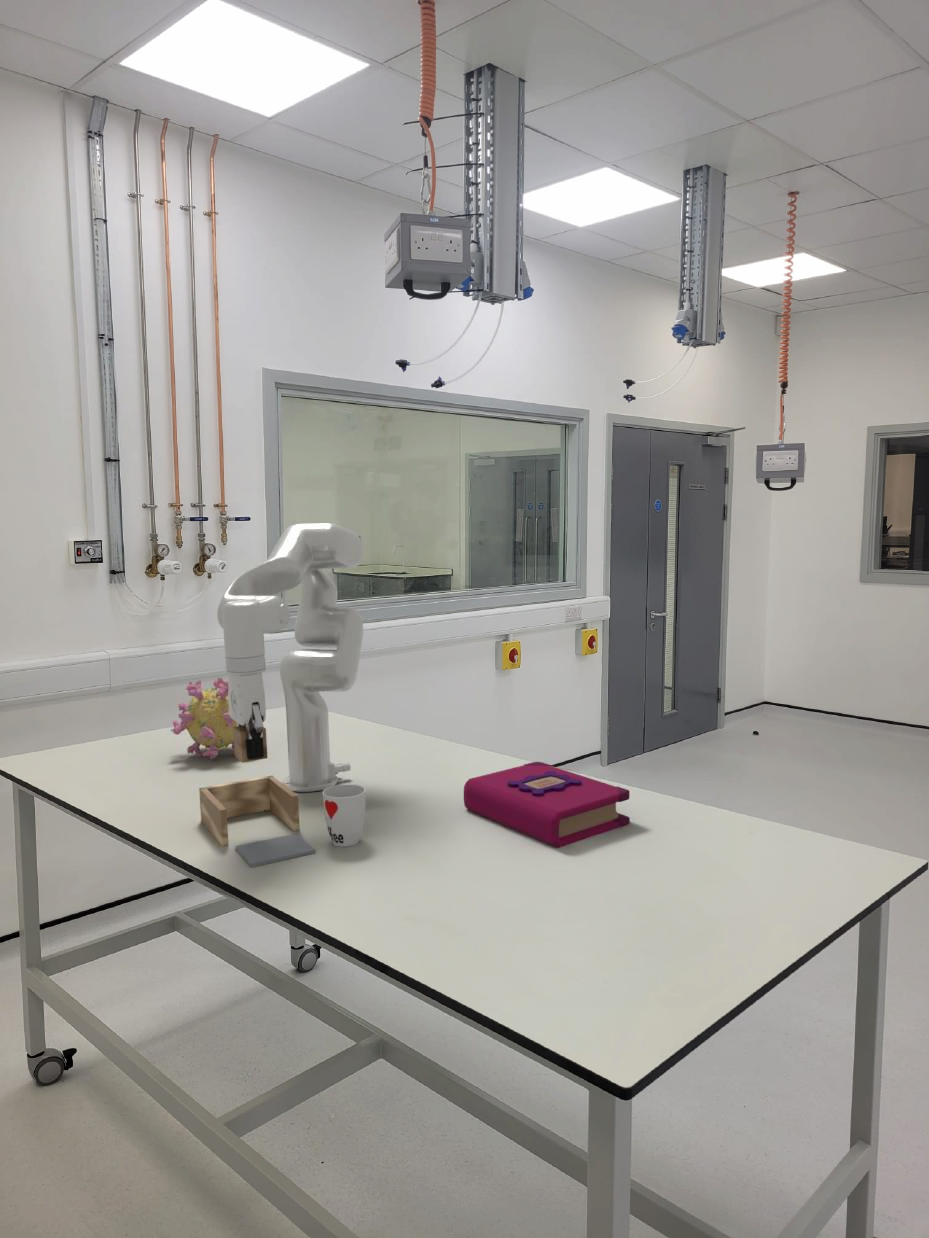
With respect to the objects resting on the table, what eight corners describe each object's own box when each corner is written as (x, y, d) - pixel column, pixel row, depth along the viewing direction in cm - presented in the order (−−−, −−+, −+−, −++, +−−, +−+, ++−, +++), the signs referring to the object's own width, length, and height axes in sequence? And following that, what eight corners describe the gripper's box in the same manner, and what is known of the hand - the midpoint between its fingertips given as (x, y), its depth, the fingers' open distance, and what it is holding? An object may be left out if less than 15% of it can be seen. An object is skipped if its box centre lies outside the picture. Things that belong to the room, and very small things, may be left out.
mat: (296, 836, 170) (296, 833, 170) (315, 852, 161) (314, 849, 161) (235, 849, 164) (235, 846, 163) (251, 867, 155) (251, 863, 155)
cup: (319, 838, 168) (317, 788, 167) (359, 831, 172) (357, 781, 170) (331, 852, 161) (329, 800, 160) (373, 844, 164) (371, 793, 163)
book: (554, 851, 160) (554, 811, 159) (463, 812, 182) (462, 776, 182) (632, 825, 173) (632, 788, 172) (538, 791, 195) (538, 758, 194)
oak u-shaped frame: (273, 806, 187) (272, 775, 186) (299, 829, 173) (298, 795, 172) (201, 821, 179) (199, 788, 178) (222, 845, 165) (220, 810, 164)
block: (259, 752, 175) (258, 723, 175) (267, 758, 171) (265, 728, 170) (235, 756, 173) (233, 726, 172) (242, 762, 169) (240, 732, 168)
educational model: (155, 763, 222) (150, 687, 220) (205, 741, 243) (201, 671, 241) (235, 769, 215) (231, 691, 213) (279, 746, 237) (276, 674, 234)
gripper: (214, 660, 175) (220, 747, 177) (238, 673, 160) (245, 768, 163) (251, 655, 179) (256, 741, 181) (278, 668, 164) (283, 761, 167)
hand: (251, 753), depth 172 cm, fingers closed on block, 5 cm apart
